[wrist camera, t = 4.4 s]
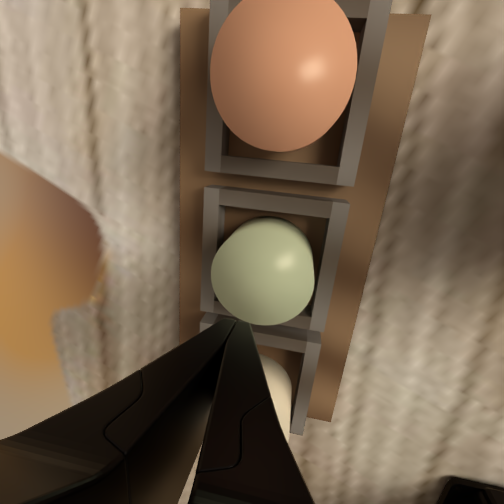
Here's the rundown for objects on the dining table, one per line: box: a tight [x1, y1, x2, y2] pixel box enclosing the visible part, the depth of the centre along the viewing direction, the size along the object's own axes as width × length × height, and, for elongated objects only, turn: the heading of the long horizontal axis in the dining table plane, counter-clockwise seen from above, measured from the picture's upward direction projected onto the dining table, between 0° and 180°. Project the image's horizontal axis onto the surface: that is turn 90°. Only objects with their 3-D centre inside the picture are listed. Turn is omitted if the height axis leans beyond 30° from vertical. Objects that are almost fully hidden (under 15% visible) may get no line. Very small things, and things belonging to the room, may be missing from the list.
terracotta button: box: [210, 0, 357, 152], centre depth 11 cm, size 5×5×3 cm
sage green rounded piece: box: [211, 216, 314, 325], centre depth 14 cm, size 5×5×3 cm
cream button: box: [259, 354, 292, 443], centre depth 16 cm, size 5×5×3 cm
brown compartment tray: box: [179, 0, 431, 436], centre depth 16 cm, size 23×11×3 cm, turn 175°
